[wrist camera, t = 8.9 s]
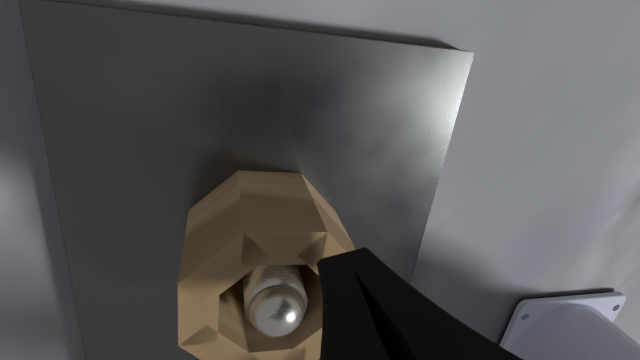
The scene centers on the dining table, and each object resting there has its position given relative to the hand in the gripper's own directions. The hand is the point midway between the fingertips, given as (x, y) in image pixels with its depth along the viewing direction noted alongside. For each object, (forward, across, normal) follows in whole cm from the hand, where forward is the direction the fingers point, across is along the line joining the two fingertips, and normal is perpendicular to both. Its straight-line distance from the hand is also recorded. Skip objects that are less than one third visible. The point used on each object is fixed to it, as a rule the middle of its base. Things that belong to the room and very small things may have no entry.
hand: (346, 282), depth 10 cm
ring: (+5, +2, +2) cm, 6 cm away
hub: (+6, +2, +2) cm, 7 cm away
